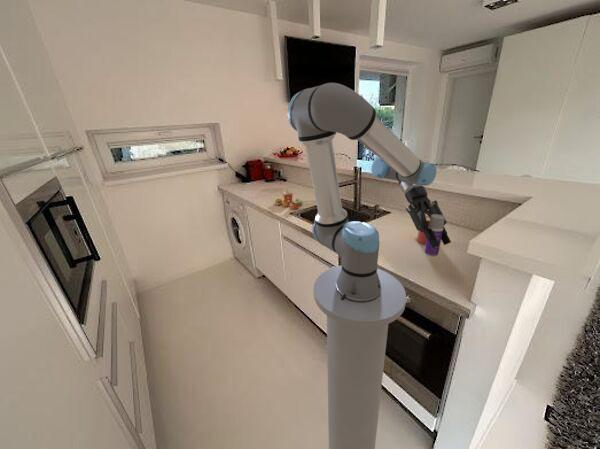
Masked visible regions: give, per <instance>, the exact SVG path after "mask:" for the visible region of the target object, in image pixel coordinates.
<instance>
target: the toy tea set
mask: <svg viewBox="0 0 600 449" xmlns="http://www.w3.org/2000/svg"><path fill="white" fill-rule="evenodd" d="M293 195H294V194H293V191H292V192H291V191H290V190H289V189H286V191H284V192H283V193H282V197H283V198H280V197H279V198H274V199H273V200H274V201H273V204H274V205H277V206H279V205H282V206H283V207H284V208H289V207H290V206H291V209H292V210H295V211H297V210H299V208H300V206H302V205H303V200H302V199H301V198H296V199H294V200H293Z"/></svg>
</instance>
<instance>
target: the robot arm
mask: <svg viewBox="0 0 600 449" xmlns="http://www.w3.org/2000/svg"><path fill="white" fill-rule="evenodd" d="M377 115H378V114H377V110H376V108H374V106H373V105H372V104H371V103H370V102H368V100H367V99H365V98H364V97H363V96H362V95H361V94H359V93H357V92H356V91H355V90H353V89H352V88H350V87H348V86H346V85H344V84H341V83H337V82H327V83H324V84H320V85H316V86H313V87H307V88H305V89H302V90H300V91H299V92H297V93H295V94H294V95H293V96H292V97H291V99H290V101H289V103H288V106H287V115H286V116H287V120H288V123H289V125H290V127H292V129H293V130H294V131H296V132H297V137H298V142H299V143H301V145H303V146H304V147H305V152H306V157H307V162H308V163H307V164H308V168H309V172H310V178H311V182H312V183H311V184H312V187H313V194H314V198H315V204H316V208H317V209H316V210H317V212H316V214H315V217H314V221H313V224H312V228H311V229H312V236H313V237H314V239H315V241H317V242H318V243H319V244H320V245H322V246H324V247H326V248H327V249H329V250H330V251H332V252H334V253H335V254H337V255H338V256H340V257H341V265H342V269H341V271H340V274H339V277H338V279H337V282H336V289H337V292H338V293H339V294H340V295H341V296H342V297H341V300H344V298H345V299H347V300H350V301H353V302H359V303H365V302H370V301H373V300H375V299H377V298H378V297H379V296H380V293H381V284H380V280H379V277H378V274H377V269H378V264H379V263H378V261H379V250H380V233H379V230H378V229H377V228H376V227H375V226H373V225H372V224H370V223H367V222H364V221H362V222H361V221H359V220H357V221H356V220H355V221H354V220H353V221H349V216H348V212H347V210H346V209H344V208H343V205H342V199H341V198H342V197H341V190H340V184H339V179H338V178H339V176H338V170H337V164H336V157H335V150H334V143H333V140H334V138H335V137H336V135H337V133H338V134H341V135H343V136H345V137H346V138H348V139H349V140H350V141H357V142H359V143H360V144H361V145H363V146H364V147H365V148H366V149H368V150H369V151H370V152H371V153H373V154H374V155H375V156H376V157H378V158H376V159H375V160H374V161H373V162H372V164H371V169H370V171H371V174H372V176H373V177H375V178H378V179H386V180H392V181H395V182H396V181H397V183H398V185H399V186H400V188H401V191H402V193H403V194H404V197H405V199H406V201H407V203H409V204H408V206H407V207H405V211H406V212H407V213H408V214H409V216H410V219H411V220H412V223H413V225H414V226H415V229H416V231H417V232H418V231H420V230H421V231H420V232H424V234H425V236H426V238H427V239H428V240H429V242H430V244H431V246H432V248H434V247H437V246H439V243H438V241H437V239H436V237H435V235H434V233H433V231H432V229H429V227H428V223H427V216H428V218H429V219H430V218H431V215H433V214H439V215H443V216H444V214H443V212H442V210H441V209H440V207H439V204H438V201H437V200H436V199H435V200H433V201H432V200H431V199H429V197H428V194H429V193H428V191H427V189H426V188H425V187H428V186H430V185H431V184H433V182H434V181H435V179H436V177H437V174H438V171H437V170H438V168H437V166H436V164H434V163H433V162H428V161H422V160H421V159H420V158H419V157H418V156H417V155H416V154H415V152H413V151H412V150H411V149H410V148H409V147H408V146H407V144H405V143H404V142H403V141H402V140H401V139H400V138H399V137H398V136H397V135H396V134H395V133H394V132H393V131H391V129H390V128H388V126H387V125H386V124H385V123H383V121H381V119H379V117H378V116H377ZM426 215H427V216H426ZM447 223H448V221H447V219H446V218H445V220H444V226H443V232H442V237H441V242H442V244H443V245H444V246H446V245H448V244H451V243H452V241H451V239H450V237H449V235H448V231H447V229H446V227H445V226H446V224H447ZM419 226H420V227H419Z"/></svg>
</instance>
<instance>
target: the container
mask: <svg viewBox="0 0 600 449" xmlns="http://www.w3.org/2000/svg"><path fill="white" fill-rule="evenodd" d="M445 219H446V216H445V215H444V214H443V215H439V214H433V215H431V218H429V221H430V223H429V229H432V231H433V233H434V235H435V237H436V239H437V241H438V243H439V246H437V247H434V248H432V246H431V244H430V242H429V240H428V239H426V245H425V244H424V245H425V246H424V251H423V252H424V254H425V255H427V256H428V257H429V256H430V257H437V256H439V253H440V252H439V251H440V247H441V242H442V240H441V237H442V232H443V226H444V227H445V225H444V220H445Z"/></svg>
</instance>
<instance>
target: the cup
mask: <svg viewBox="0 0 600 449" xmlns="http://www.w3.org/2000/svg"><path fill="white" fill-rule="evenodd" d="M426 220H427V219H426ZM427 223H428V227H429V223H430V220H427ZM419 227H420V226H419ZM420 231H421V230H420ZM420 231H418V230H417V239H416V241H417V242H418V243H420V244H422V245H426V239H427V238H426V236H425V234H424V232H420Z"/></svg>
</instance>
